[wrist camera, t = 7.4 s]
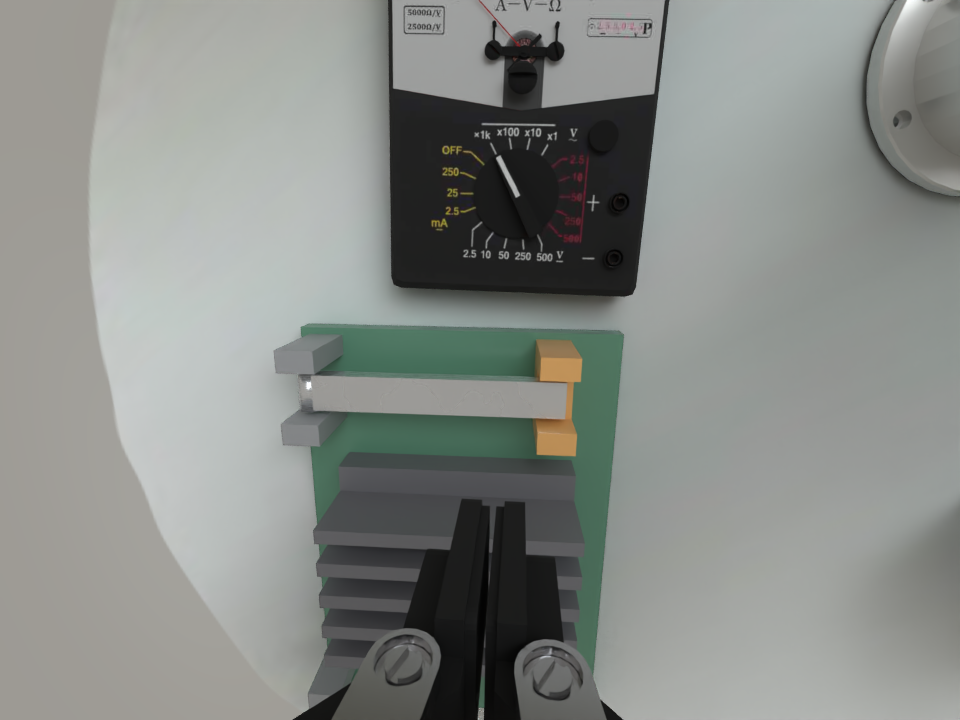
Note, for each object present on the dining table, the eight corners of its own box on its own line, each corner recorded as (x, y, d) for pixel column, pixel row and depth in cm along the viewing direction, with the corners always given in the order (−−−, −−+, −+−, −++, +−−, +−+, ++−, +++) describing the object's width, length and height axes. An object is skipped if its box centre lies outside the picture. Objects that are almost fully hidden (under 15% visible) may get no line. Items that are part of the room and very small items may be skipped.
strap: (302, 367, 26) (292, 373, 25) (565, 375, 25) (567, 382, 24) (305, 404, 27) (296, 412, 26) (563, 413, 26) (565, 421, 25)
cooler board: (309, 323, 29) (246, 349, 22) (619, 330, 28) (655, 360, 21) (337, 682, 36) (296, 788, 29) (586, 699, 35) (606, 813, 28)
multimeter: (403, 283, 28) (382, 292, 24) (401, -98, 24) (374, -185, 19) (620, 292, 28) (644, 303, 23) (663, -97, 23) (704, -187, 18)
